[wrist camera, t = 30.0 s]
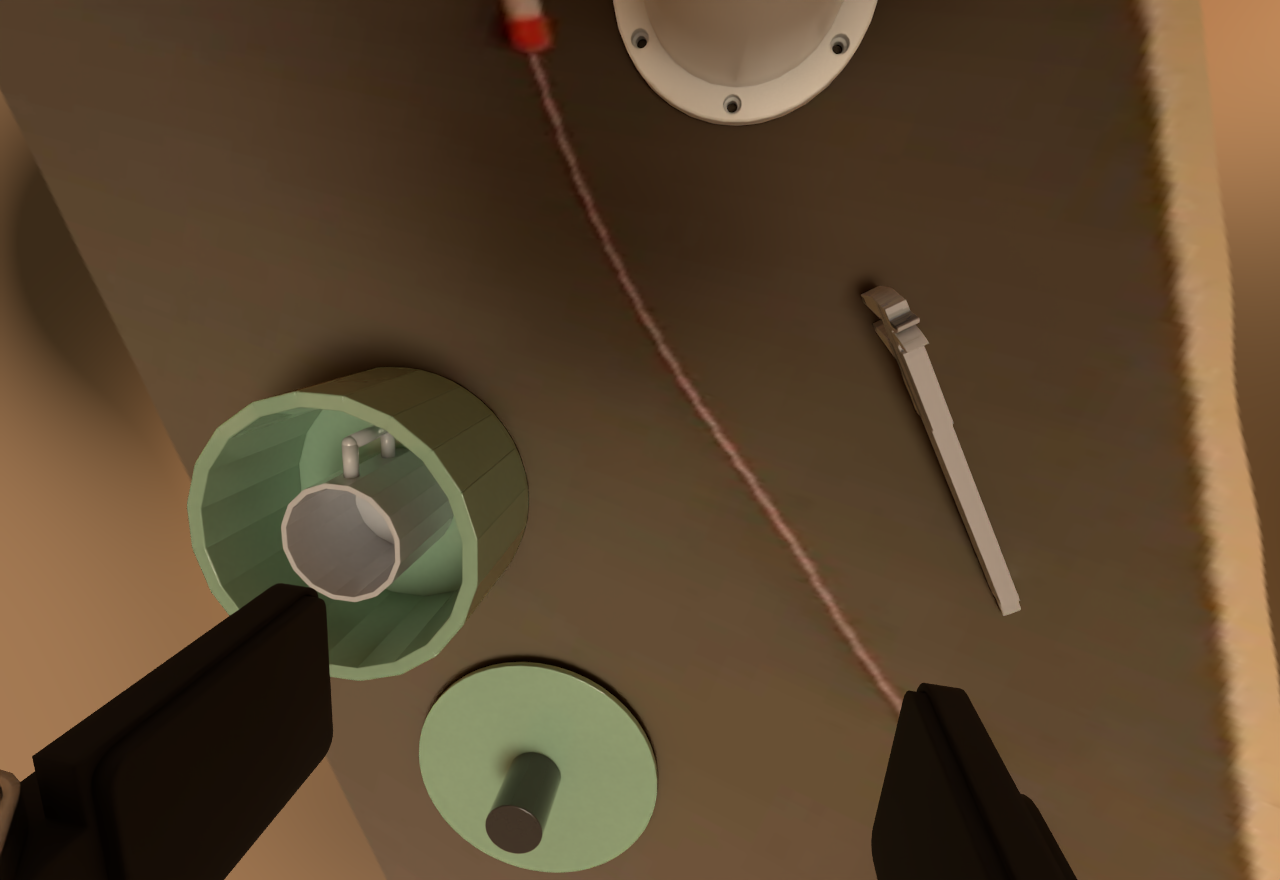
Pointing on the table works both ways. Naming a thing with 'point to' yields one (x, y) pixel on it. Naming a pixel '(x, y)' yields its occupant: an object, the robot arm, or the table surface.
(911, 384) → the caliper
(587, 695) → the pot lid
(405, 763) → the table surface
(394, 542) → the mug
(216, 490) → the pot
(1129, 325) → the table surface
